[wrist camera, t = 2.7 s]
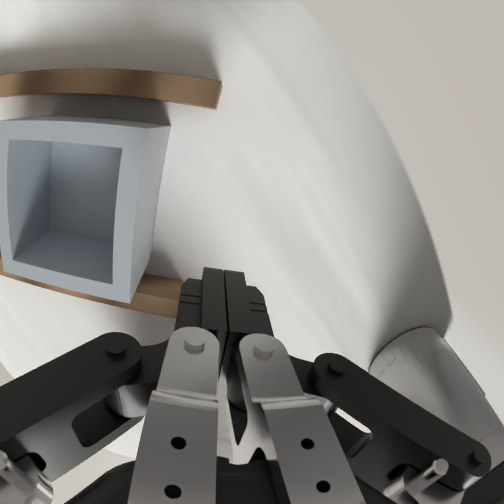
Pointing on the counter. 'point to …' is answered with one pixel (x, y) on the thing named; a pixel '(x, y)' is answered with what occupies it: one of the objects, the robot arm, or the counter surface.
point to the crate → (80, 201)
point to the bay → (123, 85)
